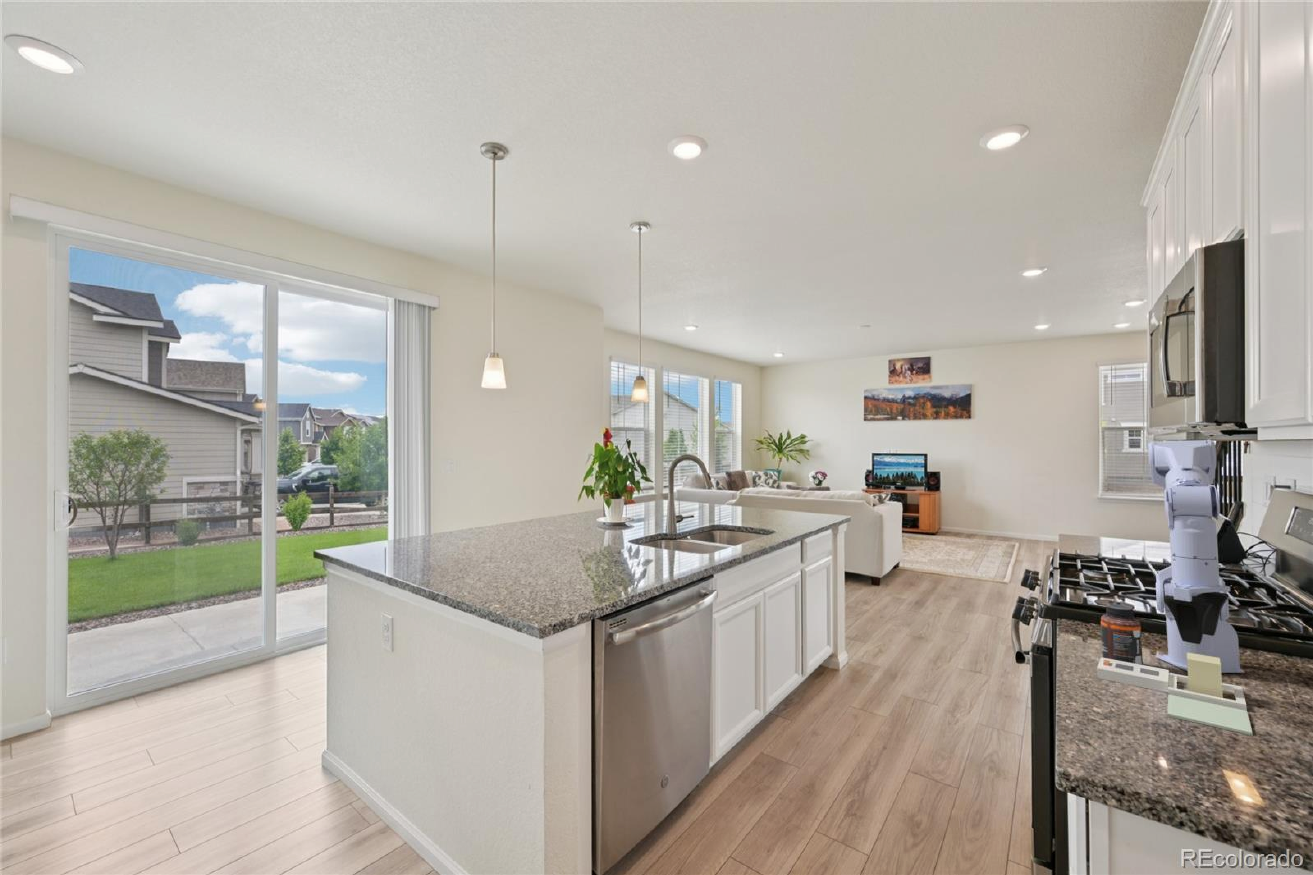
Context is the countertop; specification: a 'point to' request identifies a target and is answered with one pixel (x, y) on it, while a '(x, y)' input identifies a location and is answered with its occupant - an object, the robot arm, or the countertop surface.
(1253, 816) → the countertop surface
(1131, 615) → the supplement bottle
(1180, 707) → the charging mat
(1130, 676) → the white slotted frame
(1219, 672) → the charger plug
